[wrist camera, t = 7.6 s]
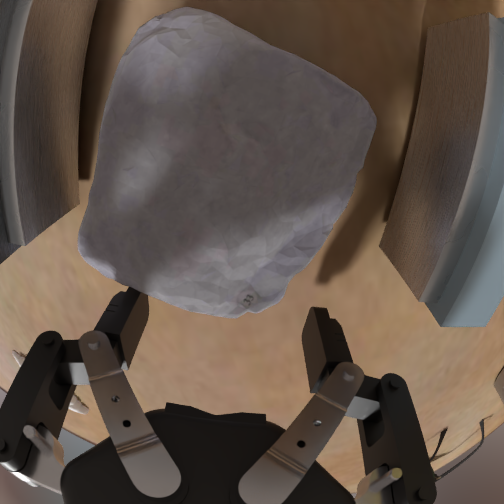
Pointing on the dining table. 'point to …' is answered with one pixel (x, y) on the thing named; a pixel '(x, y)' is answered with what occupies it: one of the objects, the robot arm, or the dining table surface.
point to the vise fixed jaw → (39, 113)
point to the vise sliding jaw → (455, 177)
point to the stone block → (219, 165)
